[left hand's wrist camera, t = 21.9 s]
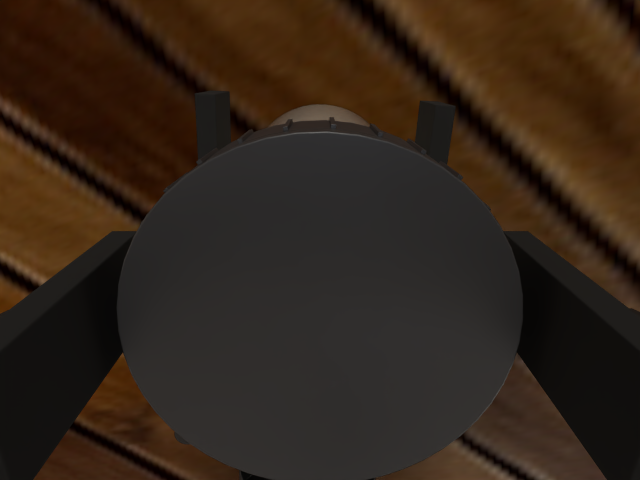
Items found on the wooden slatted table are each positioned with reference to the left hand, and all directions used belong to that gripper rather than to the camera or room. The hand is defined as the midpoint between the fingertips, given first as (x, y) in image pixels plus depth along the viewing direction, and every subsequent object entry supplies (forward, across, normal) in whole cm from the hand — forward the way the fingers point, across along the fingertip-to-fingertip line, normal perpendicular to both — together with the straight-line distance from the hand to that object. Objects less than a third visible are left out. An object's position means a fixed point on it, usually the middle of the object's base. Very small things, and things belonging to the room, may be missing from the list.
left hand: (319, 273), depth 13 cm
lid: (-3, 0, 0) cm, 3 cm away
